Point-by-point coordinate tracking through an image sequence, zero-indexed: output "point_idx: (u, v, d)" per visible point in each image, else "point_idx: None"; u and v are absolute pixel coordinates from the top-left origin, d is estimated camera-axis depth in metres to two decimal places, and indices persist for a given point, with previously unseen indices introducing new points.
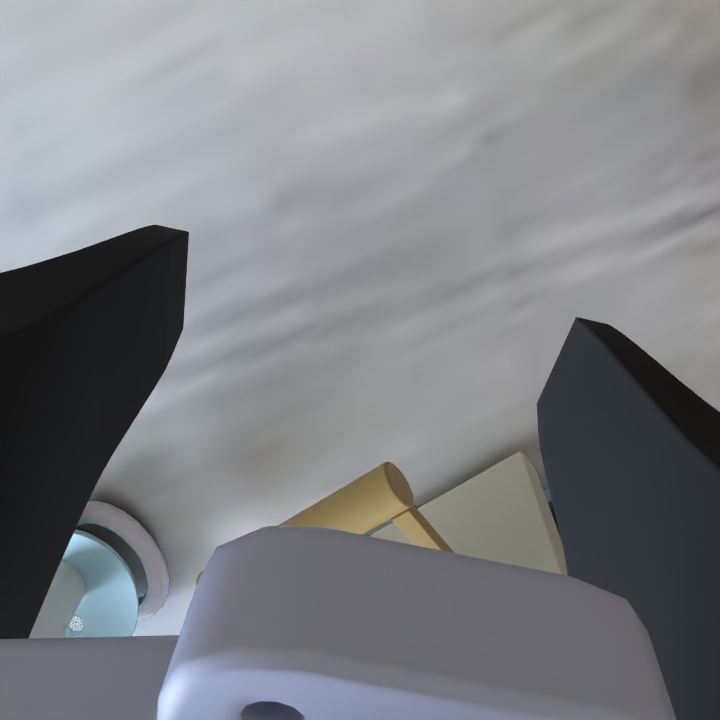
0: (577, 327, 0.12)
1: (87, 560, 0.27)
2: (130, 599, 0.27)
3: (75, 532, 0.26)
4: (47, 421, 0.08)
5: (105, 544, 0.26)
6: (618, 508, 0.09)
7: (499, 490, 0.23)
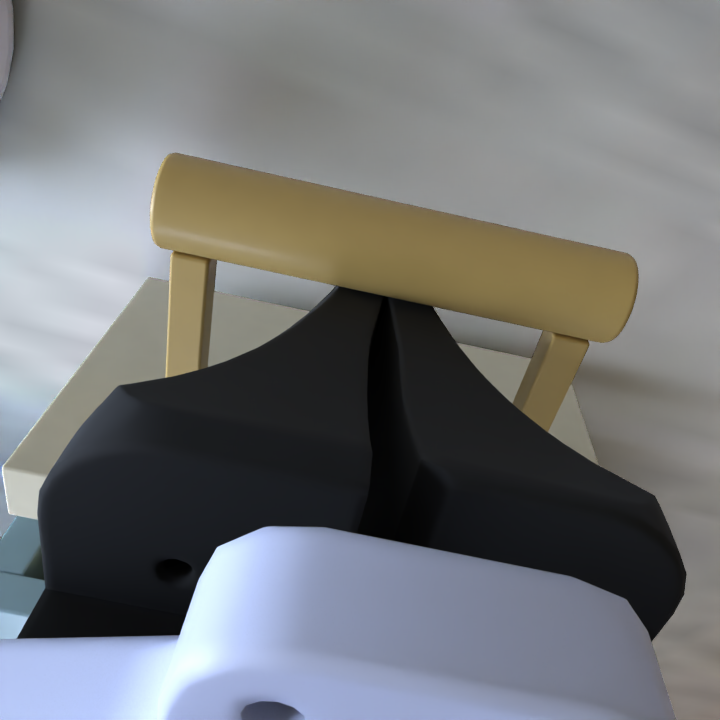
0: None
1: None
2: None
3: None
4: None
5: None
6: (372, 458, 0.09)
7: None
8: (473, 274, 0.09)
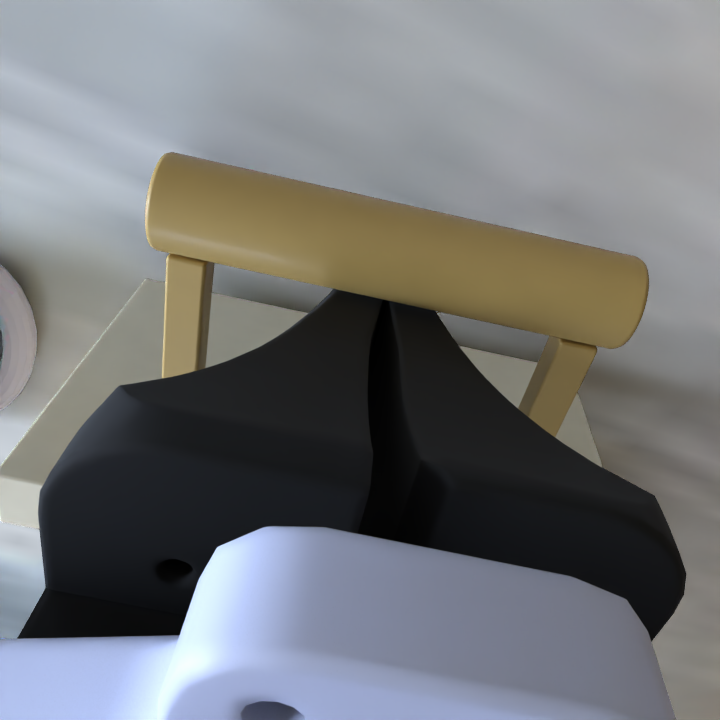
0: None
1: None
2: None
3: None
4: None
5: None
6: (372, 457, 0.09)
7: None
8: (478, 277, 0.09)
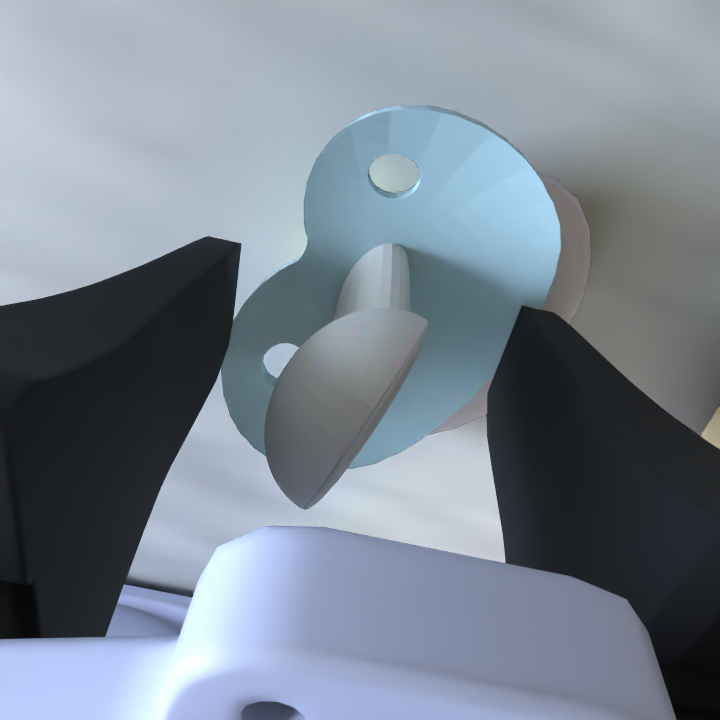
0: (522, 314, 0.11)
1: (448, 287, 0.12)
2: (437, 402, 0.13)
3: (559, 239, 0.11)
4: (127, 437, 0.08)
5: None
6: (548, 494, 0.09)
7: None
8: None
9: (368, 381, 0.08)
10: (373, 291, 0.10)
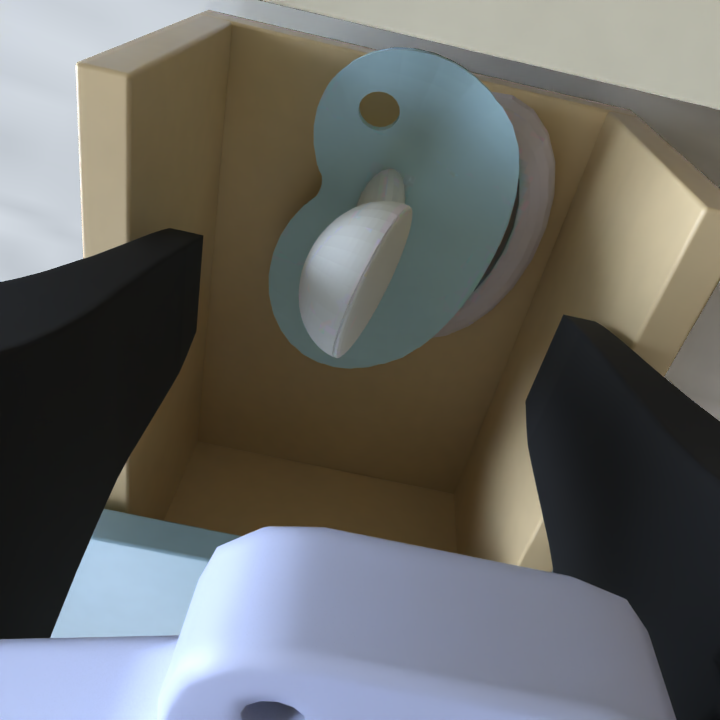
0: (565, 324, 0.12)
1: (439, 198, 0.15)
2: (447, 299, 0.16)
3: (515, 138, 0.13)
4: (69, 426, 0.08)
5: (514, 192, 0.14)
6: (602, 505, 0.09)
7: None
8: None
9: (364, 242, 0.11)
10: (373, 199, 0.13)
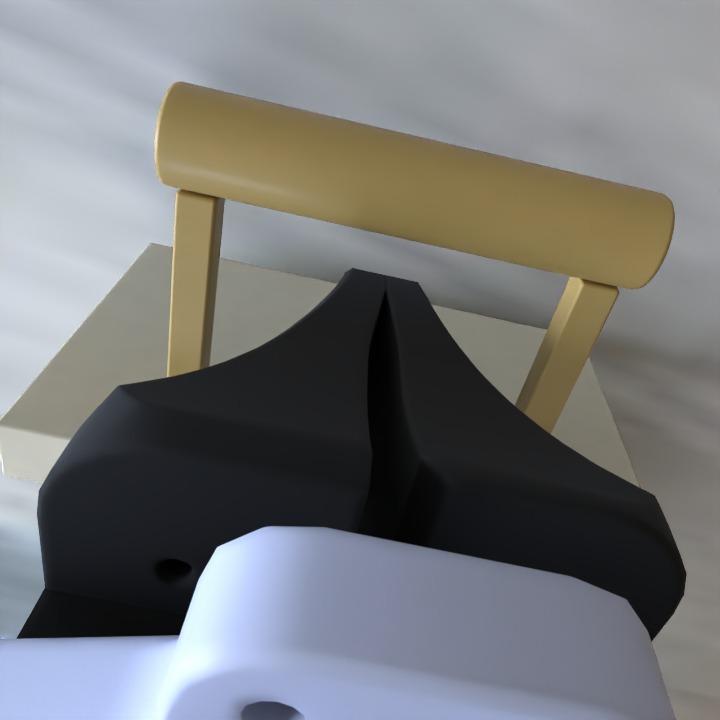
0: None
1: None
2: None
3: None
4: None
5: None
6: (372, 458, 0.09)
7: None
8: (499, 210, 0.09)
9: None
10: None
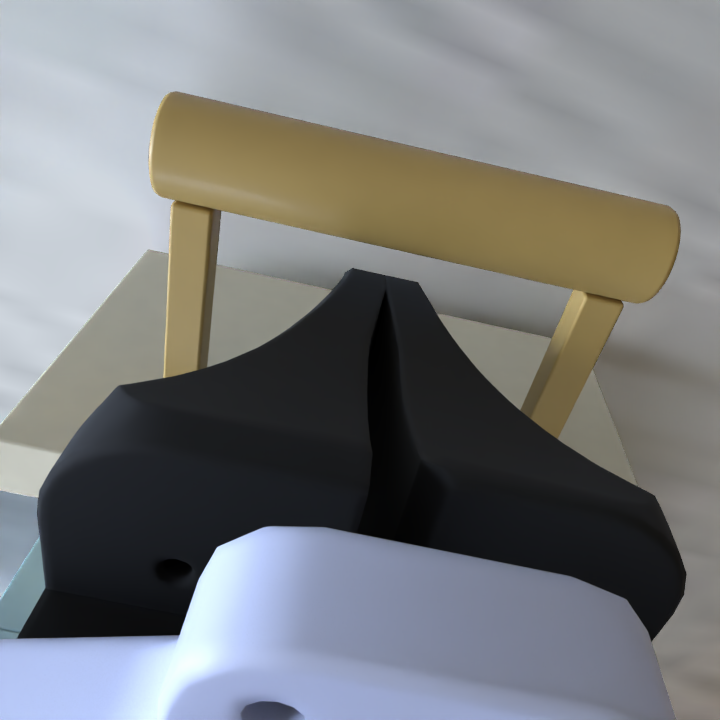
0: None
1: None
2: None
3: None
4: None
5: None
6: (372, 457, 0.09)
7: None
8: (500, 224, 0.08)
9: None
10: None
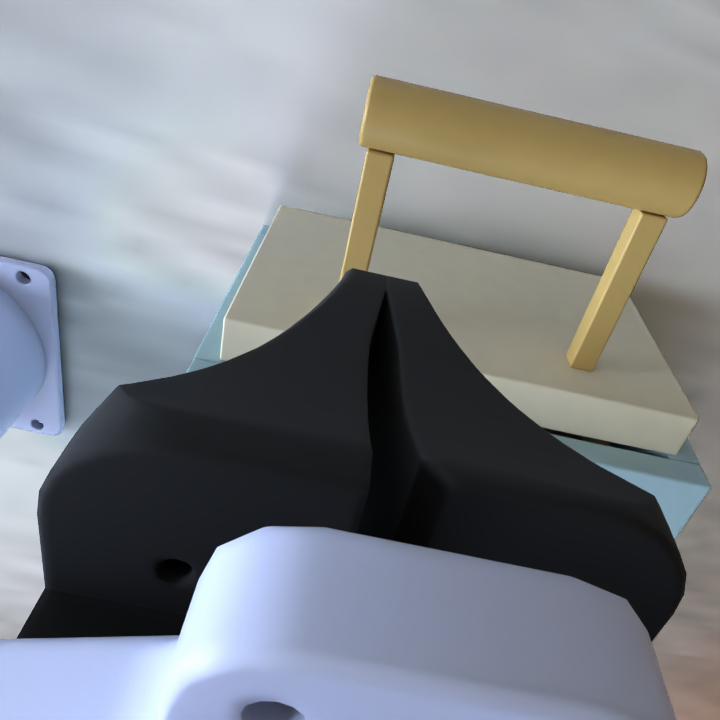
0: None
1: None
2: None
3: None
4: None
5: None
6: (372, 458, 0.09)
7: None
8: (590, 160, 0.13)
9: None
10: None
